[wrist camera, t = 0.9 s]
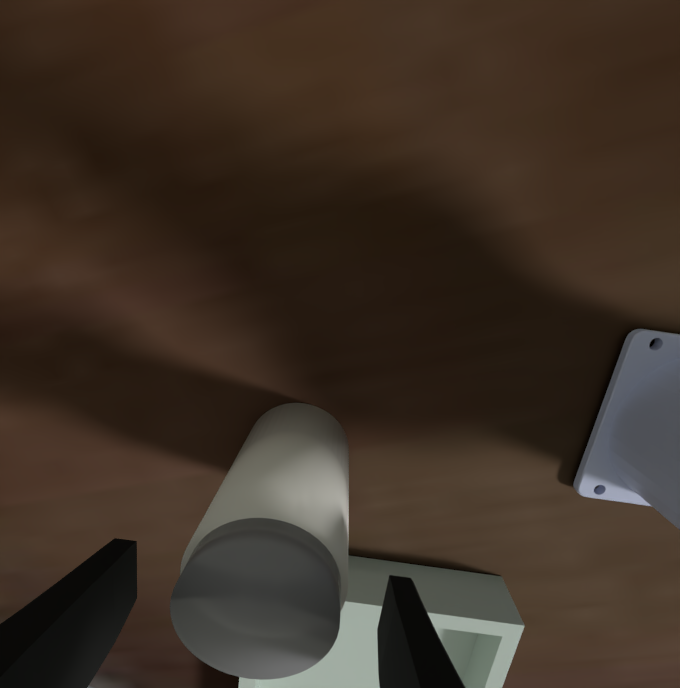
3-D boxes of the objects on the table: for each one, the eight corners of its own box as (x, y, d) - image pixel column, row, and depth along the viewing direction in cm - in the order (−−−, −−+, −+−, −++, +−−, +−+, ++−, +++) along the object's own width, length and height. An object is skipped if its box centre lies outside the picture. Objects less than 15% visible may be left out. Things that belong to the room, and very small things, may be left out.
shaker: (355, 410, 16) (361, 555, 9) (341, 499, 18) (334, 695, 10) (252, 395, 16) (163, 528, 8) (244, 485, 17) (161, 671, 10)
